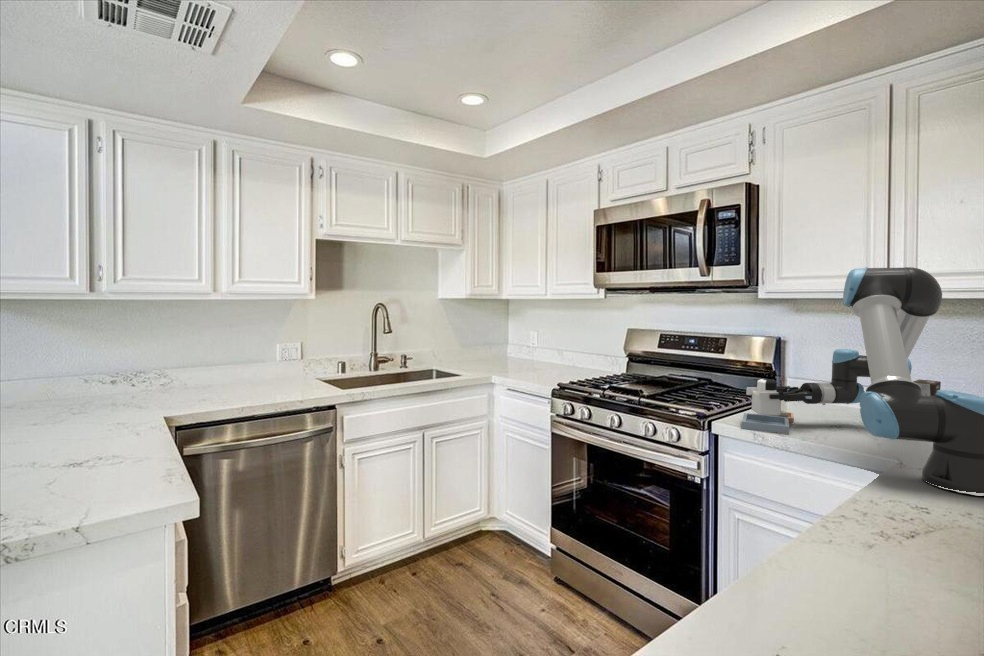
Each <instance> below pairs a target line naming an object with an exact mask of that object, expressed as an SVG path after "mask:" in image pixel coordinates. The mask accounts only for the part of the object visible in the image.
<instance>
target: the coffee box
mask: <svg viewBox="0 0 984 656" xmlns="http://www.w3.org/2000/svg"><path fill="white" fill-rule="evenodd" d="M913 382H915V383H917V384H918V385H919V386H920V388H921V391H922V395H926V396H936V395H935V393H936V392H937V391H938V390H941V384H942V383H941V381H939V380H930V379H921V378H920V379H917V380H913Z"/></svg>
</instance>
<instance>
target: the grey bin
mask: <svg viewBox="0 0 984 656" xmlns="http://www.w3.org/2000/svg"><path fill="white" fill-rule="evenodd" d="M741 429H742V430H750V431H751V430H752V431H758V432H765V431H766V433H773V432H777V433H776V434H782V433H785V434H784V435H789V434H790V423H789V420H788V417H779V416H770V415H759V414H758V413H748V412H743V415H742V420H741Z"/></svg>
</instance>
